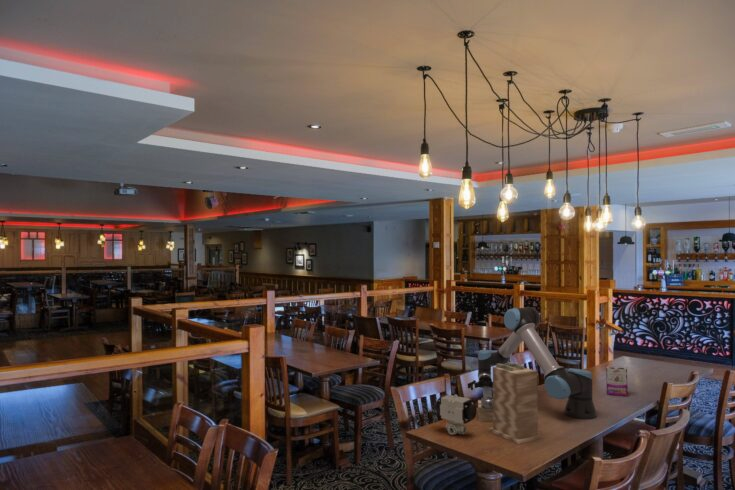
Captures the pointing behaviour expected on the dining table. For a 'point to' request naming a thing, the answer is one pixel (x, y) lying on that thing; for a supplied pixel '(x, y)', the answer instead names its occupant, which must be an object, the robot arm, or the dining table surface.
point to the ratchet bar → (487, 398)
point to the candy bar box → (616, 381)
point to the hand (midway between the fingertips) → (486, 390)
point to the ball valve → (456, 412)
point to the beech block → (484, 413)
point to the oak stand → (515, 403)
